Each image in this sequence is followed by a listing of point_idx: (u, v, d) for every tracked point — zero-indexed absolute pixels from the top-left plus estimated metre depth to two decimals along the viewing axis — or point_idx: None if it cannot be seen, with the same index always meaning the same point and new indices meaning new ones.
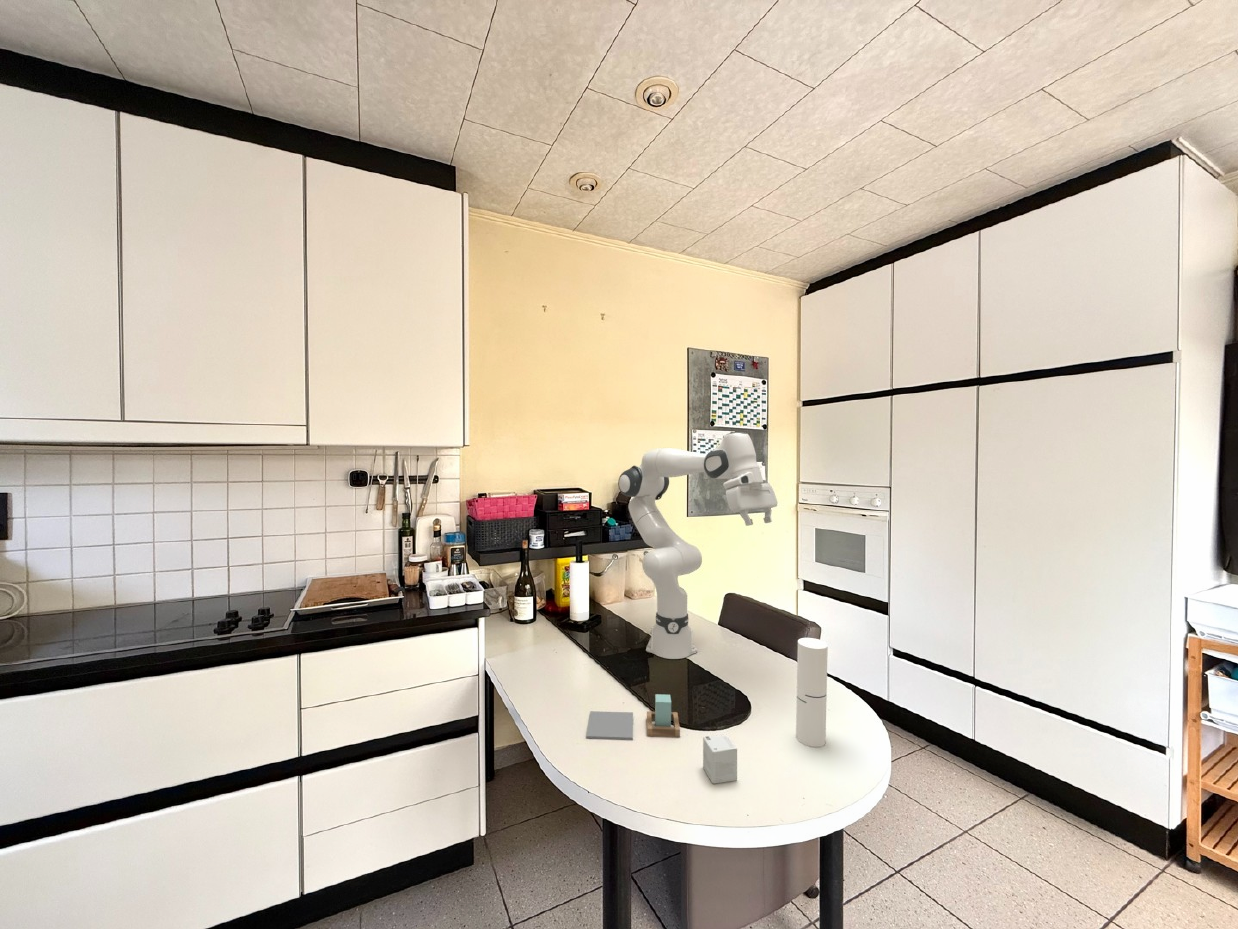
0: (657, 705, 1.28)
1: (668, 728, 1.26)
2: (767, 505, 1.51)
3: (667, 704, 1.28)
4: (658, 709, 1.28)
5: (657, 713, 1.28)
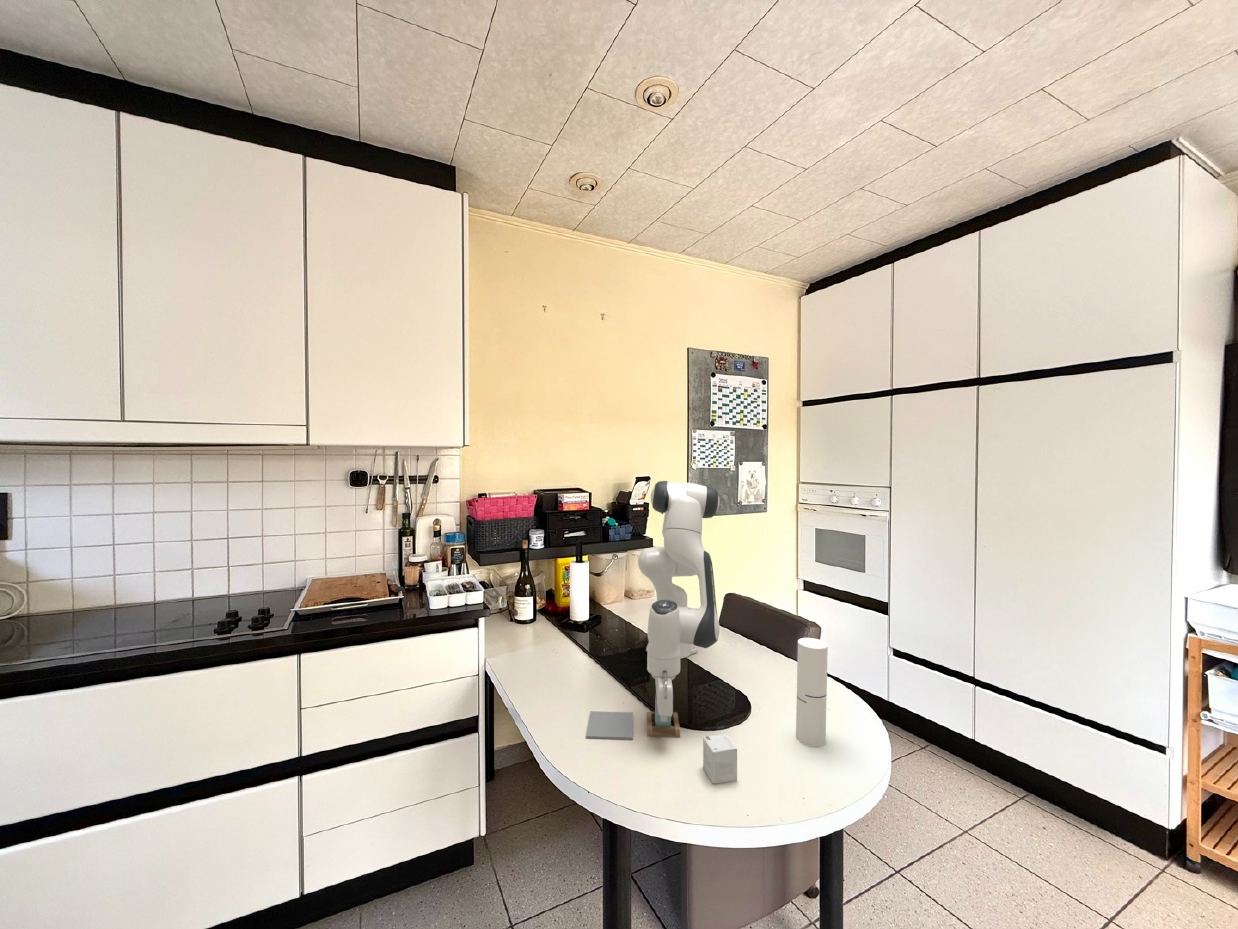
0: None
1: (668, 728, 1.26)
2: None
3: None
4: None
5: (657, 712, 1.28)
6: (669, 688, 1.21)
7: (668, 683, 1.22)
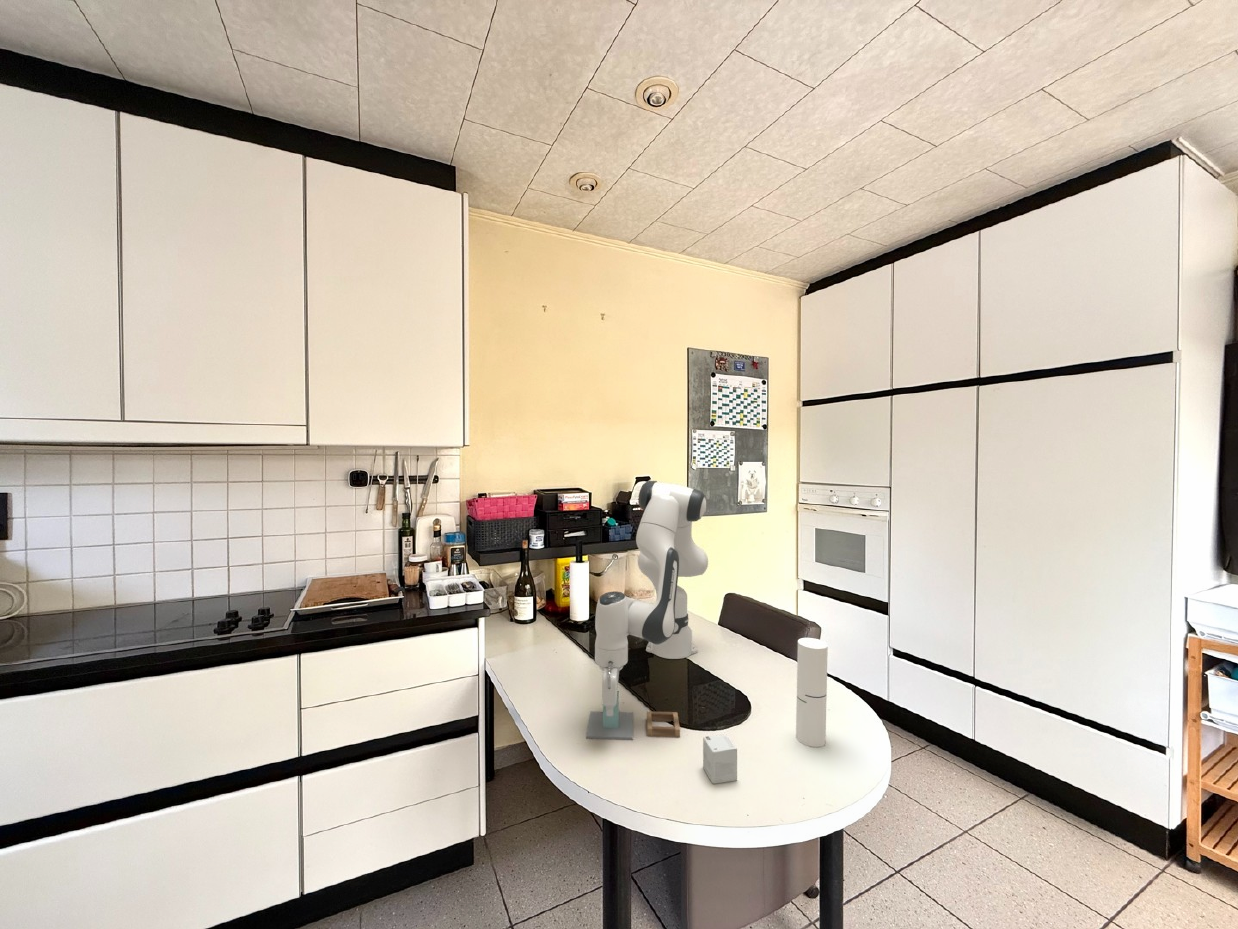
0: None
1: (668, 728, 1.26)
2: None
3: None
4: None
5: (604, 708, 1.28)
6: (612, 678, 1.21)
7: (613, 673, 1.22)
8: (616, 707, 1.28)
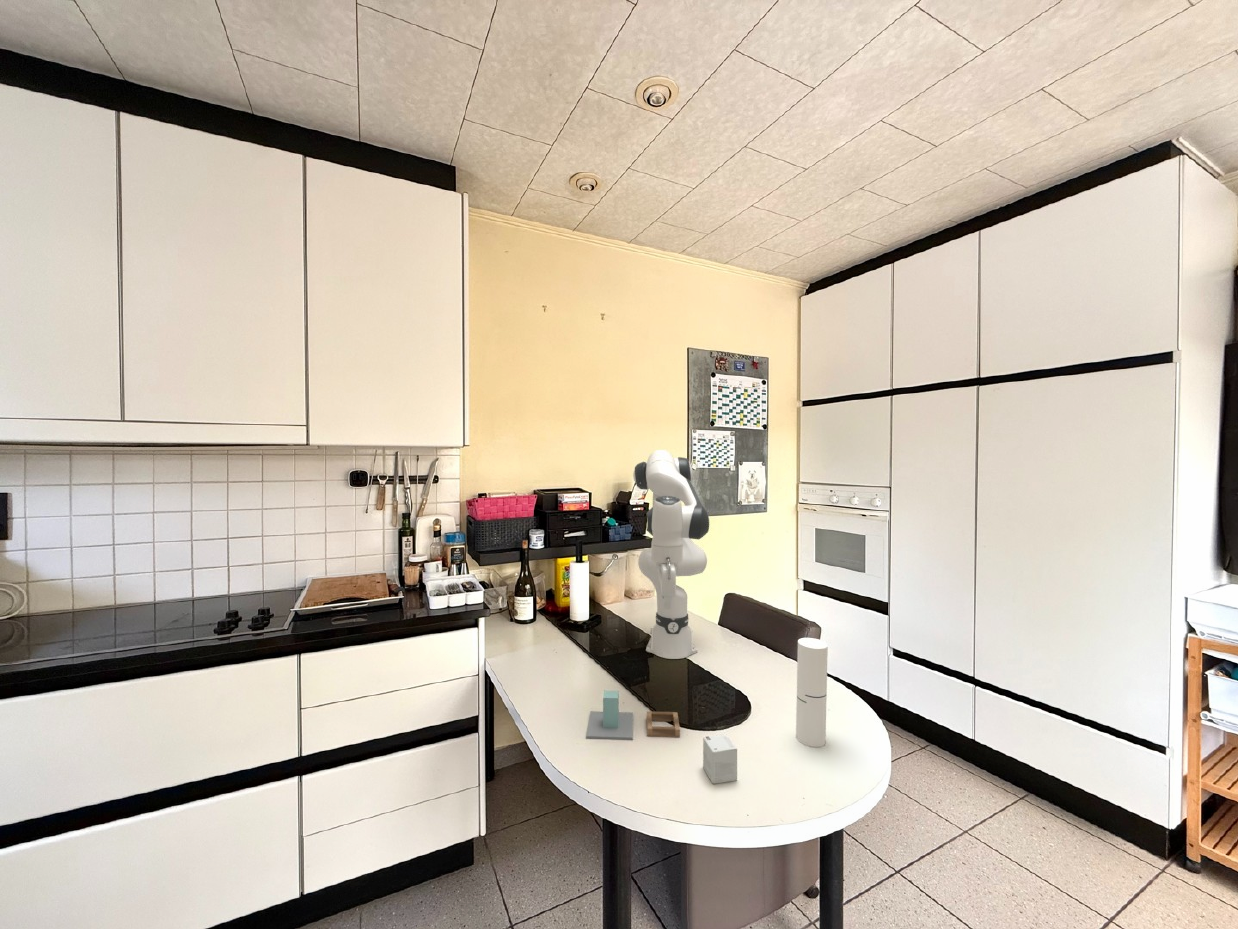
0: (604, 701, 1.28)
1: (668, 728, 1.26)
2: None
3: (614, 700, 1.28)
4: (605, 705, 1.28)
5: (604, 708, 1.28)
6: (672, 570, 1.28)
7: (671, 566, 1.29)
8: (616, 707, 1.28)
